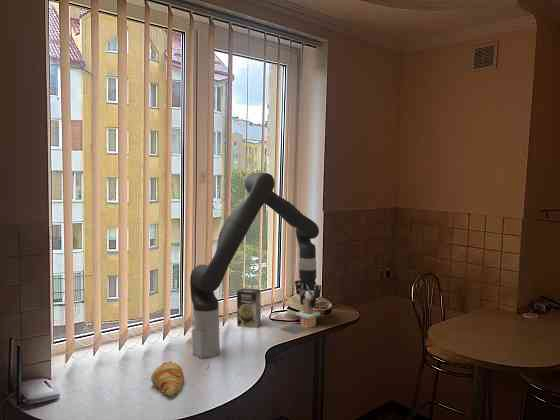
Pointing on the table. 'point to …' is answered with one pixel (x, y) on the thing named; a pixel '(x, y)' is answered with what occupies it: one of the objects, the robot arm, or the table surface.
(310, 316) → the lid
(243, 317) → the coffee box
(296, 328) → the mat
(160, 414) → the table surface
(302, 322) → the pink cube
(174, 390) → the croissant
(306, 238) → the robot arm
